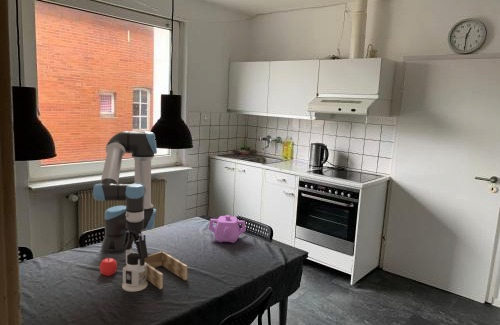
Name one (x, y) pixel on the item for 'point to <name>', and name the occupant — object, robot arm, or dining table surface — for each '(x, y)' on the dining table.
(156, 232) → the dining table surface
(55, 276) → the dining table surface
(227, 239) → the teapot
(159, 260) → the tan open-ended frame
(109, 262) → the apple
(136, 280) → the container
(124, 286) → the trivet
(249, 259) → the dining table surface
